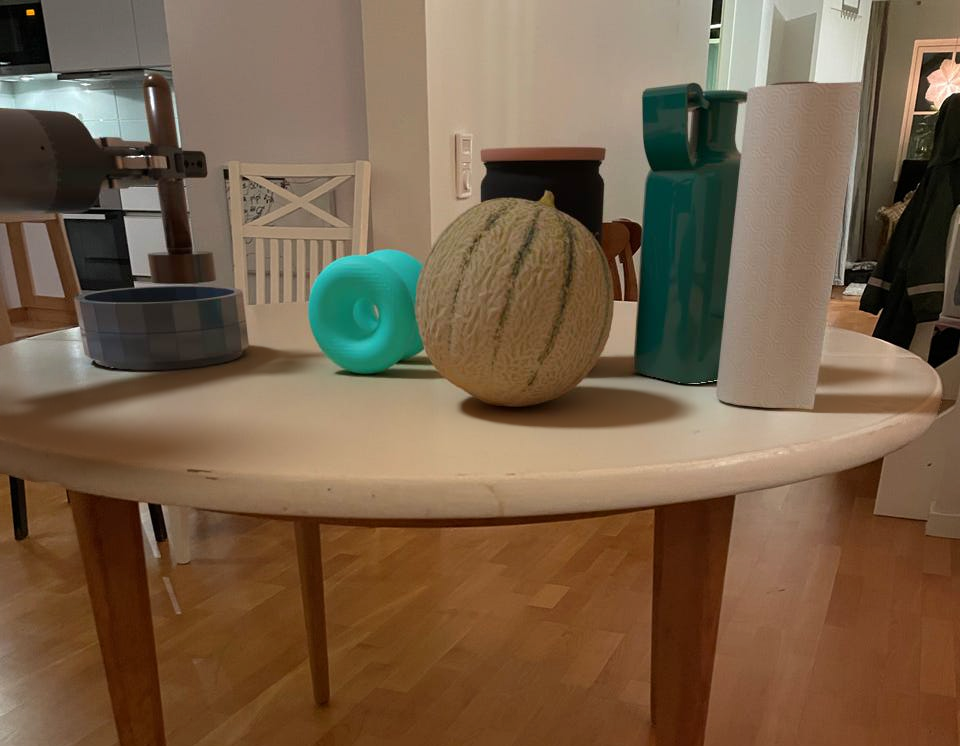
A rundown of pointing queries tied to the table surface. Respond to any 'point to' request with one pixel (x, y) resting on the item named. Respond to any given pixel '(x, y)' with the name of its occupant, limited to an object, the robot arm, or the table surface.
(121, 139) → the robot arm
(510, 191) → the coffee jar
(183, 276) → the wooden masher
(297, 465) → the table surface
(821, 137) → the paper towel roll
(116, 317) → the bowl
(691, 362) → the pitcher
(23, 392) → the table surface
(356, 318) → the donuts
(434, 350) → the cantaloupe
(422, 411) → the table surface
